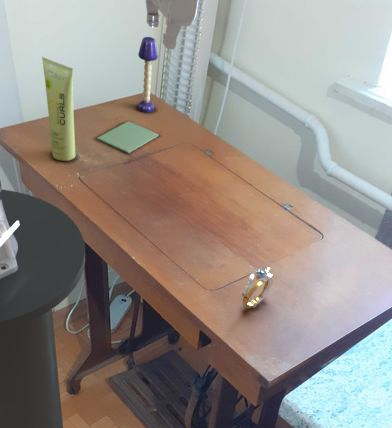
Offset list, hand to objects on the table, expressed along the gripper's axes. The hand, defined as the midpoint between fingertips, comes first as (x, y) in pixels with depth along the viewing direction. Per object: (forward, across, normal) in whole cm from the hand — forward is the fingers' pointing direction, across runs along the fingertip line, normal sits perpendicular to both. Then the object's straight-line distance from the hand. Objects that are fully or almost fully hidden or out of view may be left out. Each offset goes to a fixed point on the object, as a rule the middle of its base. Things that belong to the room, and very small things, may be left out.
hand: (160, 36), depth 90 cm
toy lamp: (+31, -39, +11) cm, 51 cm away
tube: (+31, -18, -14) cm, 38 cm away
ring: (+31, +35, +9) cm, 48 cm away
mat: (+31, -25, +3) cm, 39 cm away
